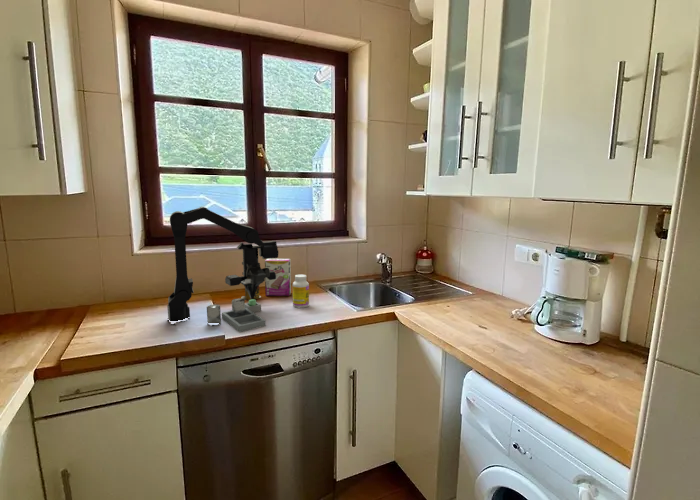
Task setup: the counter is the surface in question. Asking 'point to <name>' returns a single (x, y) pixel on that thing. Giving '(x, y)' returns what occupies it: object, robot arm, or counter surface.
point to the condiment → (249, 296)
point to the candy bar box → (278, 277)
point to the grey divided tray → (244, 320)
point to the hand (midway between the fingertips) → (252, 298)
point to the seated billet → (238, 307)
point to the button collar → (253, 307)
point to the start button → (252, 302)
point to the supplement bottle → (300, 292)
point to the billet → (213, 314)
